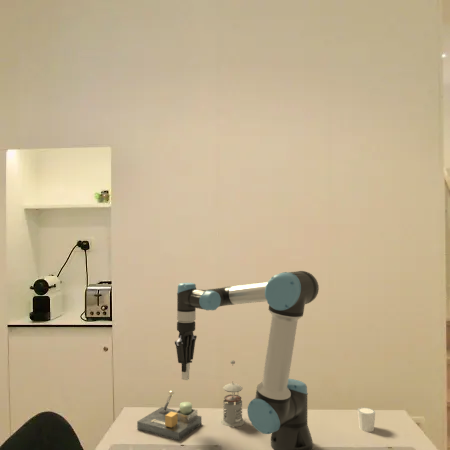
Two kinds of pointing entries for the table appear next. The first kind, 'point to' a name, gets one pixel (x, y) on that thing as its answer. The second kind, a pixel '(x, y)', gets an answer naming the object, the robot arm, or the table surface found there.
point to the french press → (232, 406)
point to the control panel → (157, 426)
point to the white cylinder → (366, 419)
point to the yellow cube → (171, 419)
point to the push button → (185, 408)
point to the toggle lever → (168, 399)
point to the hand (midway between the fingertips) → (185, 379)
